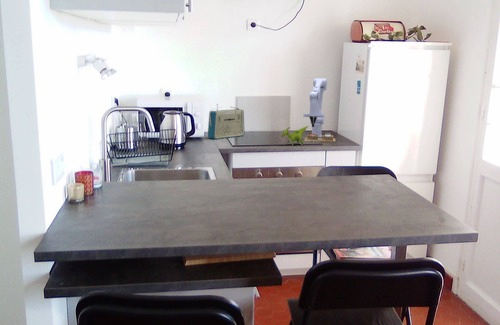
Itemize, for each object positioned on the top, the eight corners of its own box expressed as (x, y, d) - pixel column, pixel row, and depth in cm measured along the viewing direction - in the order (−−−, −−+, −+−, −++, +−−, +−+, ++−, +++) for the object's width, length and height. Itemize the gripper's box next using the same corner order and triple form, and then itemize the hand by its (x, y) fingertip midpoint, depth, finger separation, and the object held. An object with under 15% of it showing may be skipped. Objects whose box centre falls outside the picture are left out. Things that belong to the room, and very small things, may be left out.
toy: (285, 150, 337) (277, 132, 331) (309, 134, 342) (301, 116, 336) (291, 152, 329) (282, 134, 323) (315, 135, 335) (307, 117, 329)
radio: (213, 139, 344) (213, 105, 339) (207, 138, 350) (207, 104, 345) (245, 136, 364) (245, 103, 358) (238, 134, 369) (239, 102, 364)
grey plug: (324, 137, 353) (324, 132, 352) (330, 138, 352) (331, 133, 351) (324, 138, 348) (324, 133, 347) (330, 139, 348) (331, 133, 347)
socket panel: (305, 138, 359) (305, 133, 358) (335, 139, 355) (335, 135, 355) (304, 141, 347) (304, 136, 347) (335, 142, 344) (335, 137, 343)
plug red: (309, 138, 355) (309, 133, 354) (315, 139, 354) (315, 133, 353) (309, 139, 350) (309, 134, 349) (315, 140, 350) (315, 134, 349)
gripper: (303, 108, 344) (302, 127, 347) (323, 109, 342) (322, 128, 345) (304, 107, 351) (303, 125, 354) (324, 108, 349) (323, 126, 352)
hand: (312, 127), depth 350 cm, fingers closed
